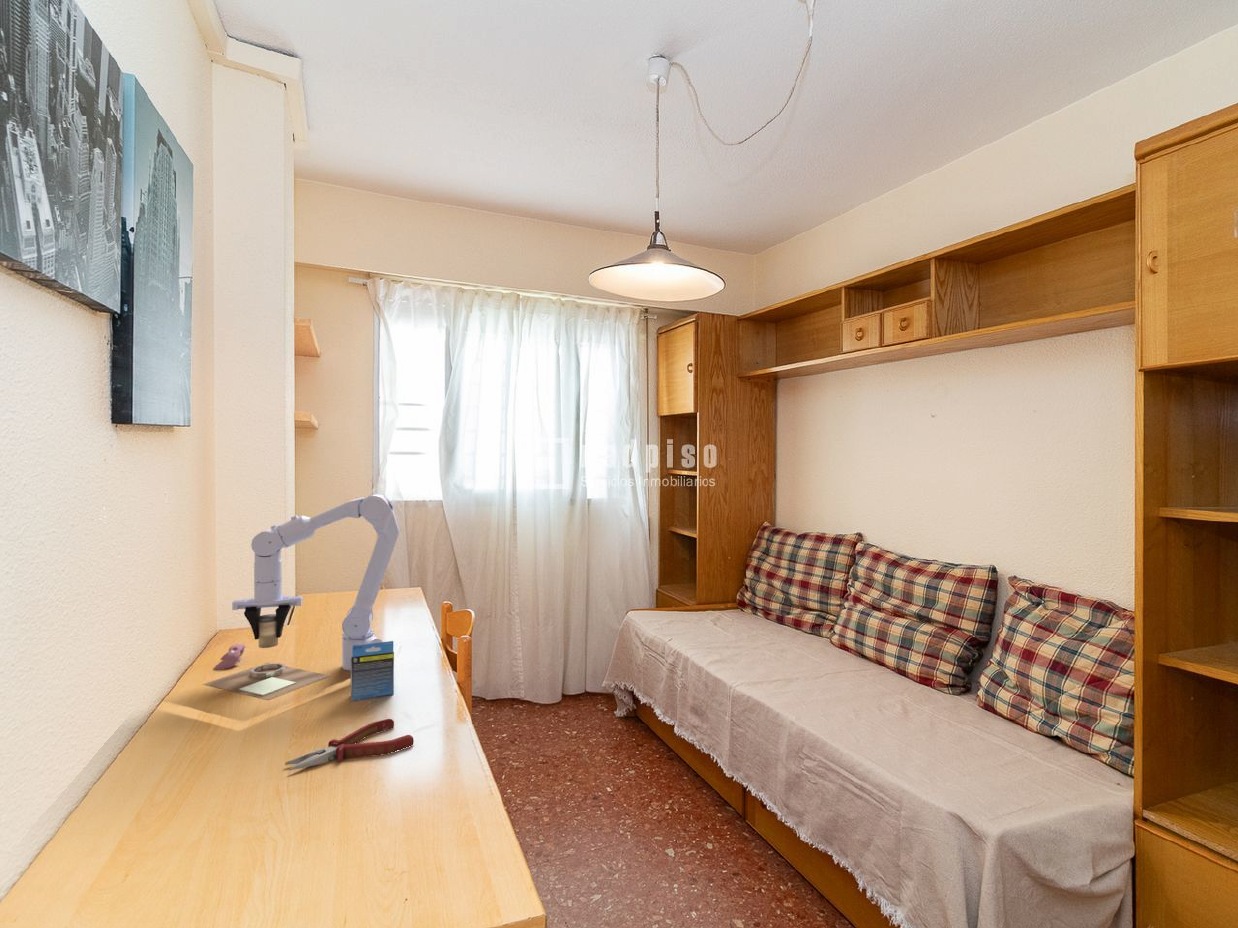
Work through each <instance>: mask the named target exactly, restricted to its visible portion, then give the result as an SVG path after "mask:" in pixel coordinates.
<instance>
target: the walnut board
mask: <svg viewBox="0 0 1238 928" xmlns="http://www.w3.org/2000/svg"><path fill="white" fill-rule="evenodd" d="M270 663H271V662H266V663H263V664H260V665H264V664H270ZM260 665H259V664H258V665H257V666H260ZM257 666H253V667H251V668H248V669H245V670H241V671H239V672H235V673H233V674H229V675H227V676H223V677H219V678H217V679H214V680H210V681H208V682H205V683H203V684H202V685H203V686H208V687H212V688H216V689H219V690H220V689H221V690H224V691H228V692H232V693H237V694H241V695H245V696H249V697H253V698H257V699H260V700H261V699H262V700H265V701H270V700H272V699H275V698H278V697H281V696H283V695H285V694H288V693H291V692H293V691H296V690H299V689H300V688H304V687H306V686H310V685H311V684H313V683H316V682H317V683H318V682H319V681H322V680H324V679H327V678H329V677H331V676H332V675H331V674H326V673H320V672H316V671H311V670H307V669H306V670H305V669H301V668H297V667H291V666H286V665H285V672H284V673H283V674H281V675H278V676H275V677H274V678H279V679H283V680H288V681H292V682H296V684H294V685H291V686H289V687H286V688H283V689H281V690H278V691H276V692H273V693H270V694H268V695H265V696H261V695H256V694H252V693H248V692H244V691H240V690H239V689H240V688H243V687H246V686H248V685H251V684H254V683H257V682H260V681H263V680H265V679H268V678H258V679H257V678H253V677H252V676H251V670H252V669H253V668H254V667H257ZM275 670H278V669H268V670H263V671H260V672H270V671H275ZM270 678H271V677H270Z"/></svg>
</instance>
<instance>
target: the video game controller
mask: <svg viewBox="0 0 1238 928" xmlns="http://www.w3.org/2000/svg"><path fill="white" fill-rule="evenodd" d="M245 649H246V645H244V644H242V643H236V644H234V645H233V644H232V646H230V647H229V649H228V652H226V653H224V655H223V656H221V657H220V662H219V663H218V664H217V665H215V666H214V668H212V671H217V670H219V671H220V670H227V669H231V668H233V667H235V665H236V664H237V663H238V664H239V663H241V661H242V658H241V656H243V654H244V652H245ZM221 660H222V661H221Z"/></svg>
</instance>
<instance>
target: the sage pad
mask: <svg viewBox="0 0 1238 928" xmlns="http://www.w3.org/2000/svg"><path fill="white" fill-rule="evenodd" d="M294 684H296V682H292V681H288V680H283V679H279V678H274V677H271V678H268V679H265V680H263V681H260V682H257V683H254V684H251V685H248V686H246V687H243V688H240V689H239V690H240V691H244V692H248V693H252V694H256V695H261V696H265V695H268V694H270V693H273V692H276V691H278V690H281V689H283V688H286V687H289V686H291V685H294Z"/></svg>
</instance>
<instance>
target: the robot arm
mask: <svg viewBox="0 0 1238 928" xmlns="http://www.w3.org/2000/svg"><path fill="white" fill-rule="evenodd" d="M361 517H362V518H363V519H364V520H366V521H367V522H368V523H369V524H370V525H371V526H372V527H373V529H374V531H375V532H376V534H377V535H378V537H377V540H376V542H375V545H374V548H373V551H372V554H371V556H370V558H369V562H368V564H367V567H366V570H365V573H364V576H363V578H362V581H361V584H360V587H359V590H358V592H357V595H356V597H355V600H354V603H353V605H352V607H350V608H349V610H348V611H347V613H346V616H345V618H343V621H342V623H341V629H342V632H343V633H342V634H341V642H342V643H341V649H342V650H341V651H342V652H341V656H342V657H341V660H342V661H341V662H342V663H341V666H342V669H343V670H345V671H351V657H352V645H360V644H369V643H379V642H383V640H382V639H380V638H378V637H377V636H376V635H375V634H374V633H375V632H374V630H373V629H372V628H371V623H372V621H373V620H374V619H373V618H374V612H373V608H374V605H375V602H376V600H377V596H378V593H379V591H380V588H381V585H382V583H383V581H384V577H385V574H386V572H387V570H388V566H389V563H390V560H391V557H392V554H393V552H394V548H395V546H396V543H397V541H398V538H399V535H400V527H399V524H398V520H397V516H396V512H395V509H394V506H393V504H392V503H391V502H390V500H389V499H388V497H386V496H385V495H383V494H381V493H372V494H371V495H370V494H369V495H368V496H367V497H366V496H362V497H358V498H355V499H351V500H348V501H346V502H344V503H342V504H339V505H337V506H335V507H333V508H330V509H327V510H326V511H323V512H321V513H319V514H317V515H314V516H312V517H309V516H305V515H300V516H298V515H294V516H291V517H290V520H288V521H285V522H283V523H281V524H278V525H276V524H274V525H271V526H270V529H266V530H263V531H260V532H259V533H257V534H256V535H255V536H254V537H253V538H252V540H251V543H250V545H251V549H252V552H254V562H253V581H254V582H253V587H254V588H253V590H254V595H253V598H247V599H246V598H243V599H235V600H233V601H232V611H238V610H244V611H243V614H244V617H245V618H246V620H247V621H248V623H249V625H250V627H251V630H252V633H253V634H252V635H253V636H254V640H259V616H261V614H262V613H261V611H262V609H263V608H275V614H276V619H277V631H276V637H277V638H278V639H279V638H281V637H282V636H283V630H284V626H285V622H286V619H287V617H288V615H289V613H290V610H291V609H292V607H293V606H295V607H301V606H303V604H304V602H303V600H304V598H303V596H302V595H301V596H300V595H299V596H289V595H288V596H285V595H283V588H282V587H283V584H282V583H283V580H282V579H283V576H282V573H283V572H282V571H283V569H282V568H283V565H282V563H283V560H282V549H283V548H285V549H286V548H289V547H292V546H294V545H296V544H299V543H302V542H303V541H306V540H308V539H311V538H313V537H314V534H315V532H316V531H317V530H318V529H320V528H323V527H326V526H328V525H331V524H333V523H336V522H338V521H341V520H343V519H346V518H352V519H360V518H361ZM379 650H380V648H374V647H372V648H371V649H366V652H371V651H379Z"/></svg>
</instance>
